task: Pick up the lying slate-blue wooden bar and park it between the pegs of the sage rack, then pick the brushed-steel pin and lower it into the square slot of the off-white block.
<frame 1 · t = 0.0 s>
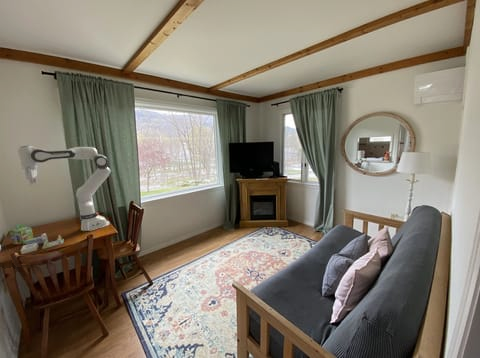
hand: (33, 183, 166), 48 cm above the table, fingers open, 8 cm apart
peg rack: (53, 244, 164), on the table
chalk box: (23, 242, 169), on the table
slot block: (30, 249, 156), on the table
steel pin: (45, 243, 166), on the table
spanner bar: (36, 243, 166), on the table
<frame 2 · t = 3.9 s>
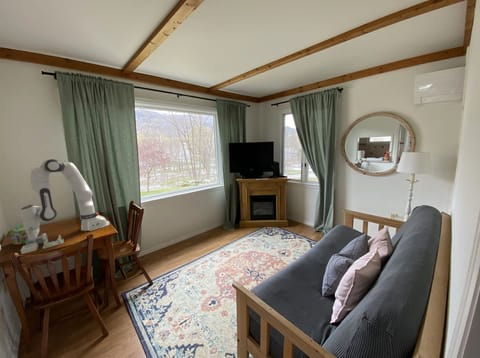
hand: (35, 241, 166), 2 cm above the table, fingers closed on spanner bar, 3 cm apart
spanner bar: (36, 243, 166), on the table, touching gripper
everything else where it was.
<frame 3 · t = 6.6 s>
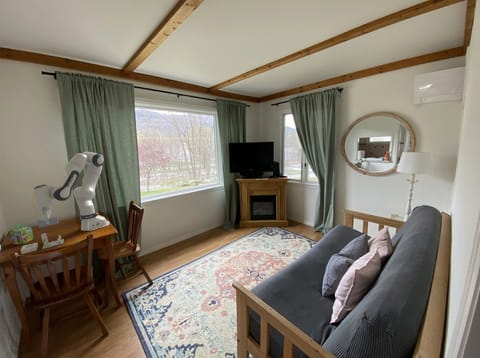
hand: (48, 222, 160), 18 cm above the table, fingers closed on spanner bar, 3 cm apart
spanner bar: (49, 224, 160), point 17 cm above the table, touching gripper
everything else where it was.
when the fingers open (4 cm above the table, at t = 9.4 s): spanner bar drops 1 cm, resting on peg rack.
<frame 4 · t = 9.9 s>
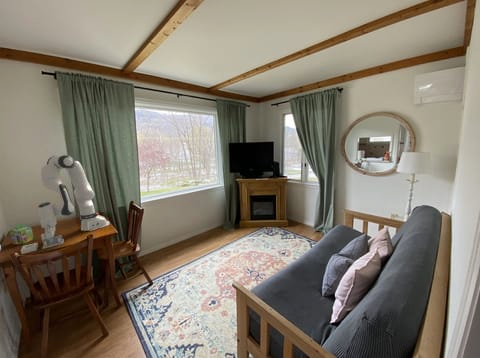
hand: (52, 239, 163), 4 cm above the table, fingers open, 8 cm apart
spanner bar: (53, 243, 164), point 1 cm above the table, touching peg rack
everything else where it was.
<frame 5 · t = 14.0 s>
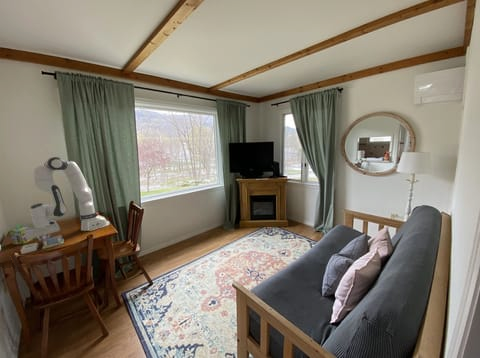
hand: (44, 240, 166), 3 cm above the table, fingers closed on steel pin, 3 cm apart
steel pin: (45, 243, 166), on the table, touching gripper
everything else where it was.
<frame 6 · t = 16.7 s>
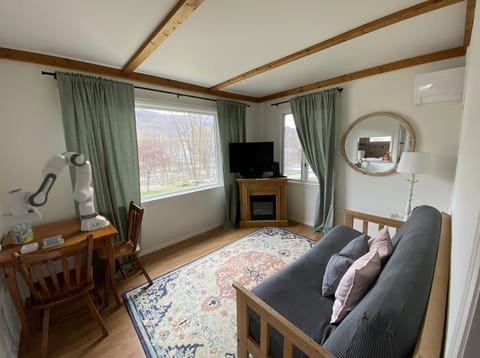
hand: (24, 228, 153), 17 cm above the table, fingers closed on steel pin, 3 cm apart
steel pin: (25, 232, 153), point 14 cm above the table, touching gripper
everything else where it was.
when the fingers open (4 cm above the table, at t = 19.8 s): steel pin stays where it is, resting in slot block.
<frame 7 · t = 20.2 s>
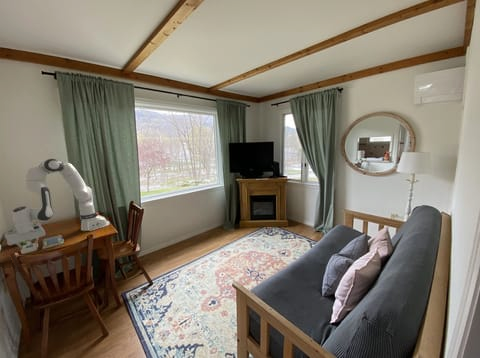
hand: (29, 245, 156), 4 cm above the table, fingers open, 7 cm apart
steel pin: (30, 249, 156), resting in slot block
everything else where it was.
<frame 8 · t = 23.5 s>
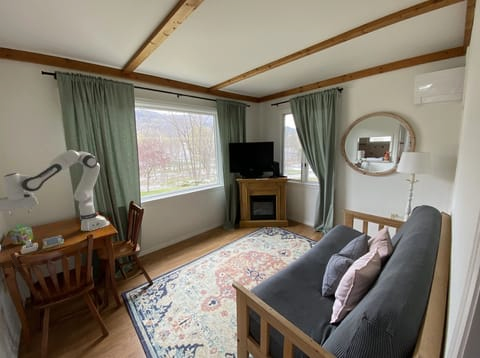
hand: (20, 213, 150), 29 cm above the table, fingers open, 8 cm apart
nothing on the table moved.
at the end: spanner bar 0.1 cm off-centre on the peg rack, point 1.0 cm above the peg rack's base; steel pin 0.1 cm off-centre on the slot block, point 0.0 cm above the slot block's base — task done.
